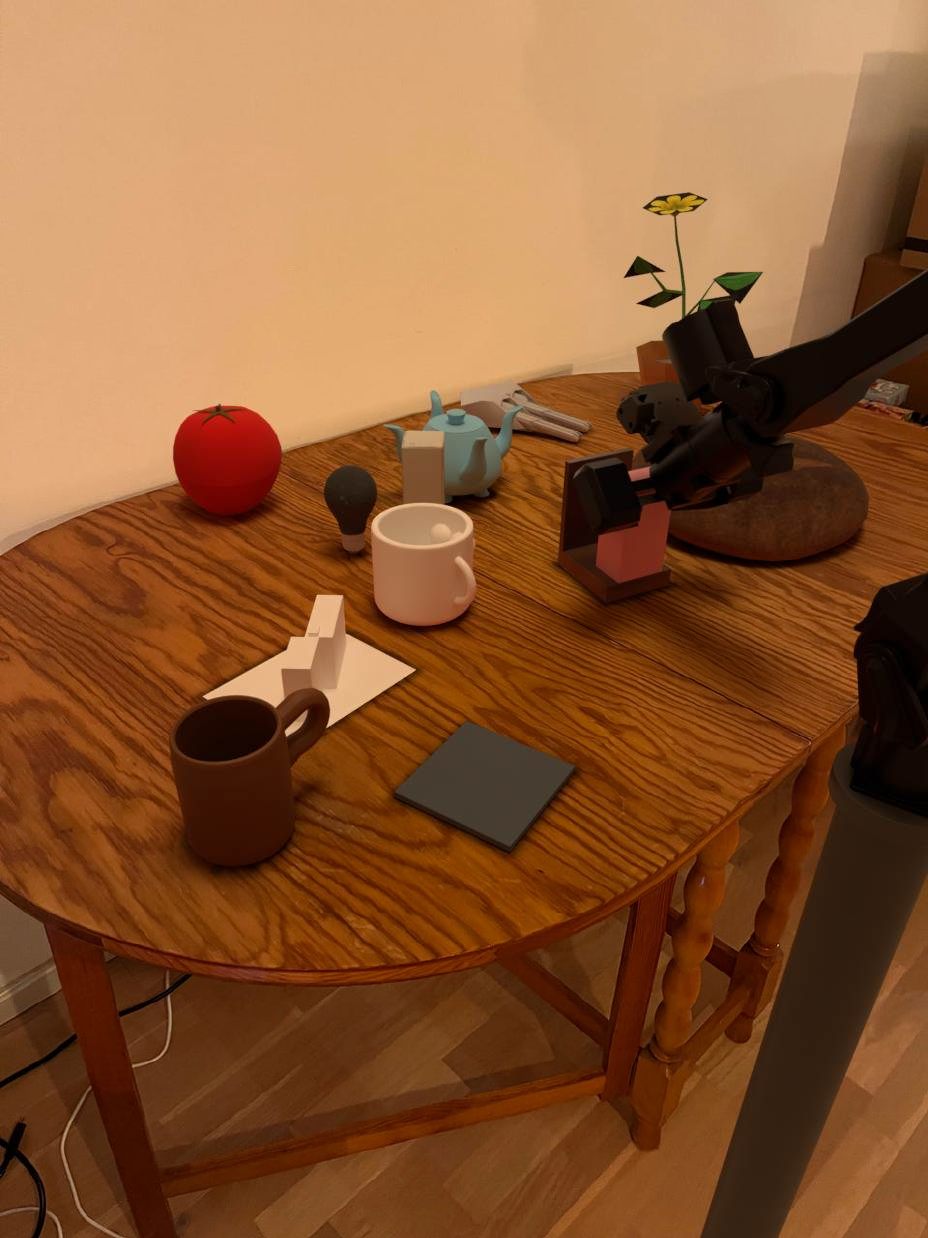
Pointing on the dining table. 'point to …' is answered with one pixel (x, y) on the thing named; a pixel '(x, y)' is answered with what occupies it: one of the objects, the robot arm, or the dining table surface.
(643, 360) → the potted plant
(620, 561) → the block
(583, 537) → the dark brown bookend
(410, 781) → the mat
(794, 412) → the robot arm
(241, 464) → the tomato
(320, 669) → the napkin holder
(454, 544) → the mug
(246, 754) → the mug
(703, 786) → the dining table surface
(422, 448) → the box
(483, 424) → the teapot
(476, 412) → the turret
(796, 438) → the bread
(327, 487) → the light bulb
